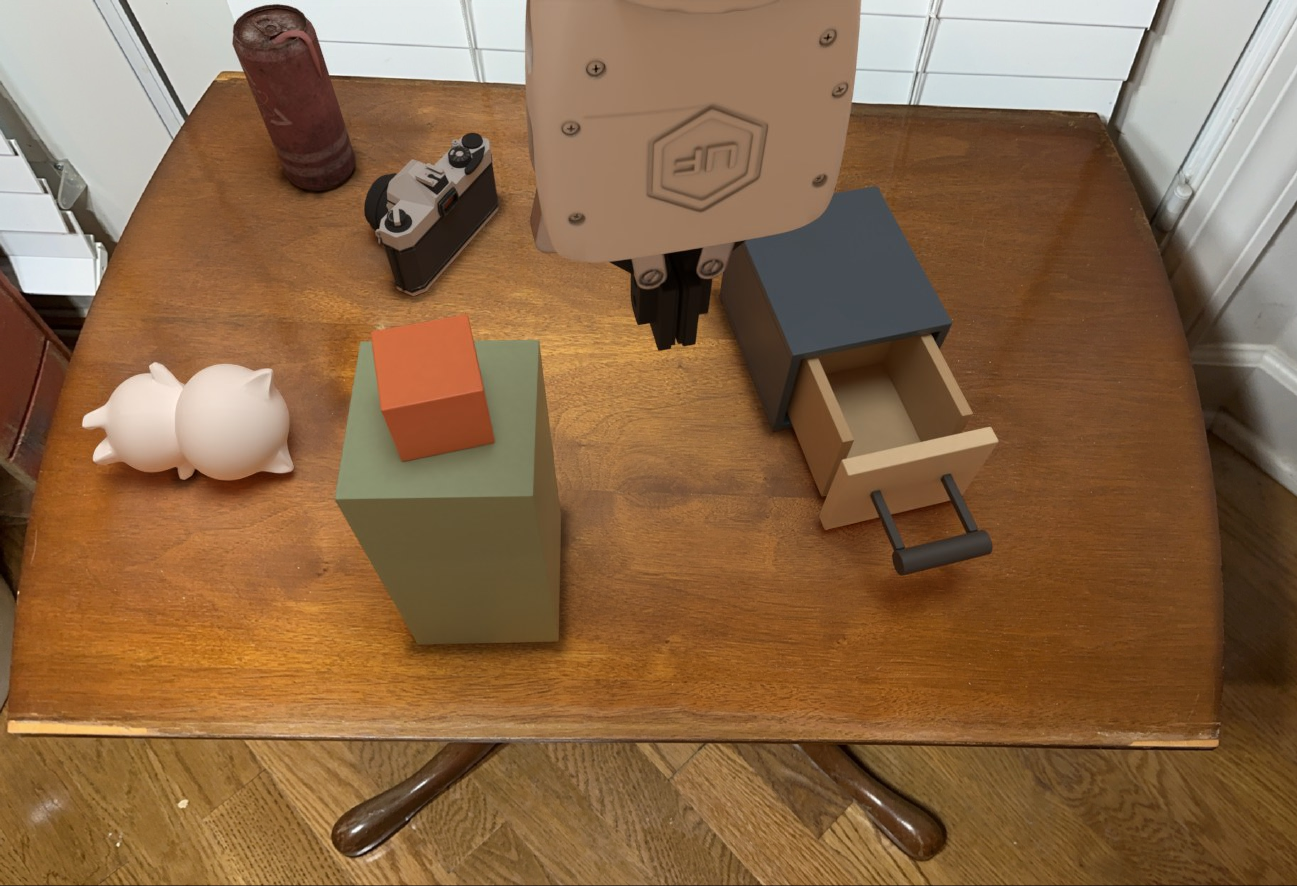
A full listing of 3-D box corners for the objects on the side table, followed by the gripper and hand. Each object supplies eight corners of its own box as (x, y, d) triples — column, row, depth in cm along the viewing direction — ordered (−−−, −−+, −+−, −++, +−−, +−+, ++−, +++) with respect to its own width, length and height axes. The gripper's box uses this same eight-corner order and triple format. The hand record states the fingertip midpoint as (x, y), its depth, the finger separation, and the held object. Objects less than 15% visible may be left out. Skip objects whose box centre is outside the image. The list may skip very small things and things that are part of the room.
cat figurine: (57, 387, 57) (250, 383, 57) (140, 330, 66) (306, 327, 66) (97, 509, 61) (278, 505, 61) (170, 439, 70) (327, 436, 70)
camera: (434, 171, 81) (409, 89, 73) (511, 199, 79) (493, 118, 71) (350, 278, 76) (313, 202, 68) (430, 311, 74) (401, 237, 66)
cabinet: (914, 401, 69) (953, 323, 61) (772, 431, 68) (792, 355, 60) (850, 270, 76) (877, 185, 68) (719, 295, 74) (731, 210, 66)
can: (346, 198, 79) (297, 55, 67) (275, 188, 79) (214, 44, 67) (369, 150, 82) (326, 5, 70) (300, 141, 82) (246, -5, 70)
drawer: (997, 573, 61) (1042, 521, 55) (855, 608, 60) (884, 560, 53) (892, 359, 70) (920, 293, 64) (766, 385, 69) (782, 320, 62)
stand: (558, 641, 59) (533, 496, 42) (417, 644, 59) (333, 499, 42) (561, 516, 64) (539, 339, 47) (430, 518, 63) (359, 341, 46)
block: (495, 443, 43) (483, 390, 40) (401, 462, 43) (380, 410, 39) (480, 369, 45) (467, 313, 42) (390, 387, 45) (369, 331, 41)
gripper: (426, -4, 21) (510, 426, 37) (1024, -76, 23) (861, 360, 39) (393, -169, 25) (482, 286, 40) (910, -217, 27) (803, 232, 42)
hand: (667, 321), depth 39 cm, fingers closed
